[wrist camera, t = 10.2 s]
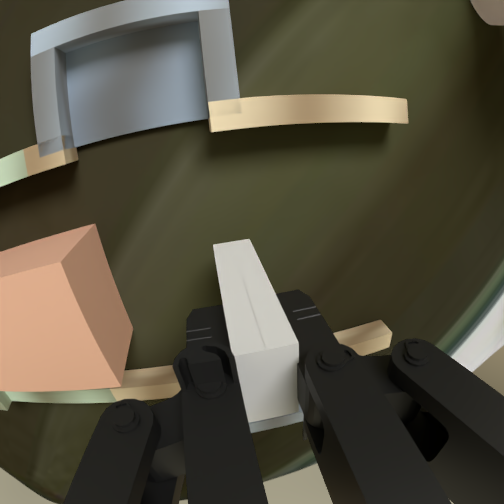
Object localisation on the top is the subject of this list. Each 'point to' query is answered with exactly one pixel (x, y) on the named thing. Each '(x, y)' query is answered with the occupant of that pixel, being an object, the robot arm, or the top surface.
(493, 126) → the top surface
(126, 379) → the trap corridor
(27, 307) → the block
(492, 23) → the smoothie
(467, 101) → the top surface
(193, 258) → the top surface
